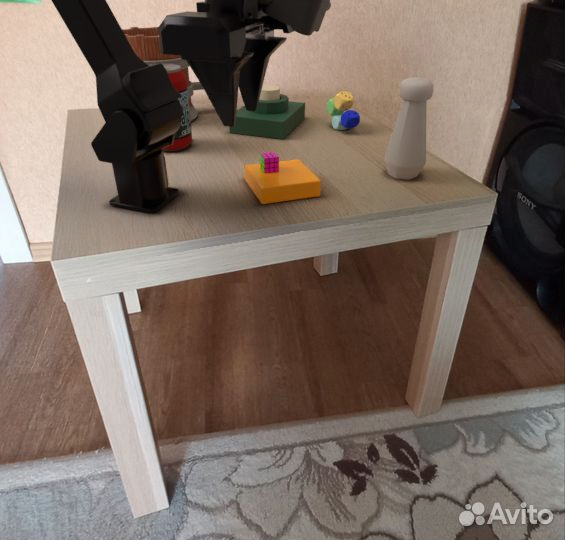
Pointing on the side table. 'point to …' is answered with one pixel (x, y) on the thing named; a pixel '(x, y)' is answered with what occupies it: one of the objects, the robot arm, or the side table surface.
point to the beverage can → (180, 84)
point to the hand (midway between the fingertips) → (240, 118)
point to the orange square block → (281, 179)
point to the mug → (159, 56)
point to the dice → (337, 108)
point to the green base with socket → (270, 118)
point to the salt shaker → (409, 130)
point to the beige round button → (270, 93)
